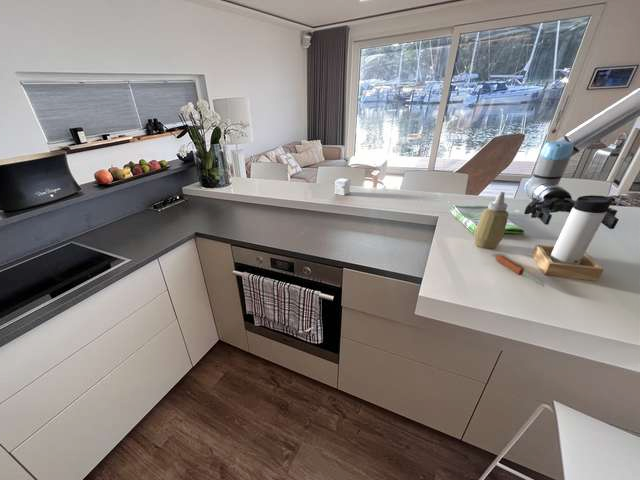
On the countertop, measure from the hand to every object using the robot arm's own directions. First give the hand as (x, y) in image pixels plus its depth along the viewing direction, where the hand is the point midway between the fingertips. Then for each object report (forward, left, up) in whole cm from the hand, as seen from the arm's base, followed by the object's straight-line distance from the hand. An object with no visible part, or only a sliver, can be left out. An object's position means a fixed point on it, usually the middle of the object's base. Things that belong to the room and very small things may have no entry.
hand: (580, 222), depth 77 cm
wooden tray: (+1, +2, -13) cm, 13 cm away
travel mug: (+1, +2, -13) cm, 13 cm away
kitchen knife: (+14, +6, -13) cm, 20 cm away
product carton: (+59, -76, -13) cm, 97 cm away
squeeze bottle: (+15, -12, -13) cm, 23 cm away
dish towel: (+7, -32, -13) cm, 35 cm away
